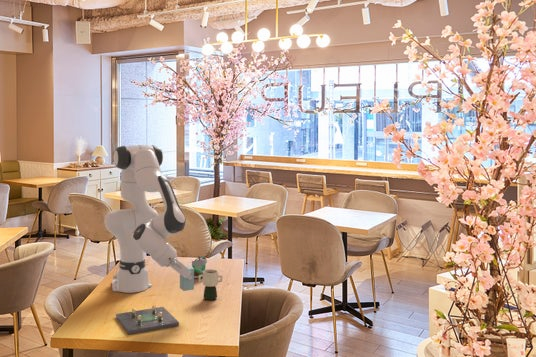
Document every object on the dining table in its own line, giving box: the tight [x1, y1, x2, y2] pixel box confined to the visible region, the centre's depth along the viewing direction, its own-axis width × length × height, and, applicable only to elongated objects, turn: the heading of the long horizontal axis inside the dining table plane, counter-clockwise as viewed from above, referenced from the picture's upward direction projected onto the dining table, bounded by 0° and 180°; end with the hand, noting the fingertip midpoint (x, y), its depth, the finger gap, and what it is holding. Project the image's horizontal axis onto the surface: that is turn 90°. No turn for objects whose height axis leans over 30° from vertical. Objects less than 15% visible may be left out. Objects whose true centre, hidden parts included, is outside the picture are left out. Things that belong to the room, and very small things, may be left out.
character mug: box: [198, 268, 223, 301], centre depth 241 cm, size 11×7×13 cm, turn 93°
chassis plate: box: [115, 305, 180, 336], centre depth 211 cm, size 20×20×4 cm
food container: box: [191, 255, 208, 280], centre depth 275 cm, size 12×6×10 cm, turn 171°
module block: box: [179, 265, 195, 292], centre depth 219 cm, size 4×4×9 cm
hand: (188, 276), depth 219 cm, fingers closed on module block, 4 cm apart
